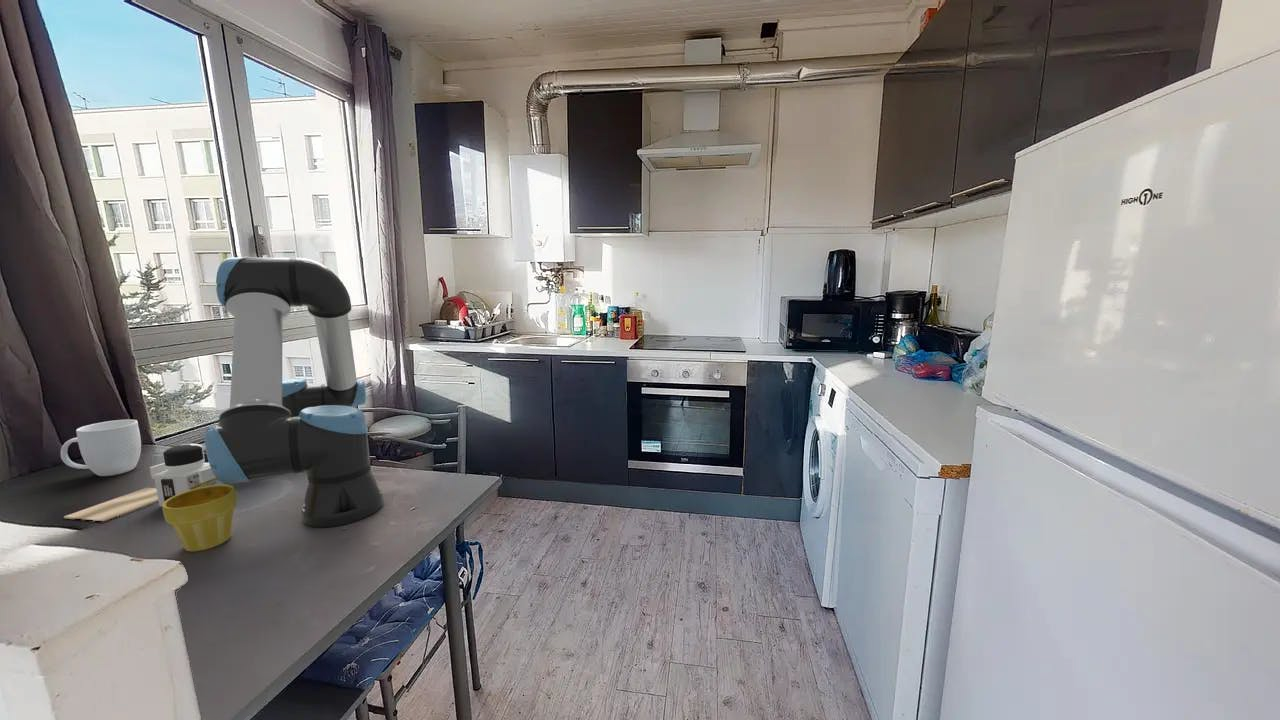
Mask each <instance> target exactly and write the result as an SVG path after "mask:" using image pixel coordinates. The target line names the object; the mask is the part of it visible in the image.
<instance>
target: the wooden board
mask: <svg viewBox="0 0 1280 720" xmlns="http://www.w3.org/2000/svg"><path fill="white" fill-rule="evenodd" d="M156 503H159V501H158V496H157V490H156V487H144V488H141V489H139V490H135V491H133V492H130V493H127V494H124V495H121V496H119V497H116V498H115V497H114V498H113V499H110V500H107V501H104V502H102V503H99V504H95V505H93V506H90V507H87V508H84V509H81V510H79V511H76V512H73V513H70V514H66V515H64V516H63V519H66V520H67V519H69V520H75V519H81V520H80V521H85V520H93V521H92V522H95V521H103V522H102V523H105V522H104V521H107V522H109V521H111V520H110V519H112V520H114V519H116V518H115V517H117V518H120V517H123V516H124V515H127V514H130V513H133V512H136V511H138V510H141V509H144V508H146V507H147V506H151V505H153V504H156ZM140 508H141V509H140ZM137 509H138V510H137ZM119 516H120V517H119ZM113 518H114V519H113ZM108 520H109V521H108Z"/></svg>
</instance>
